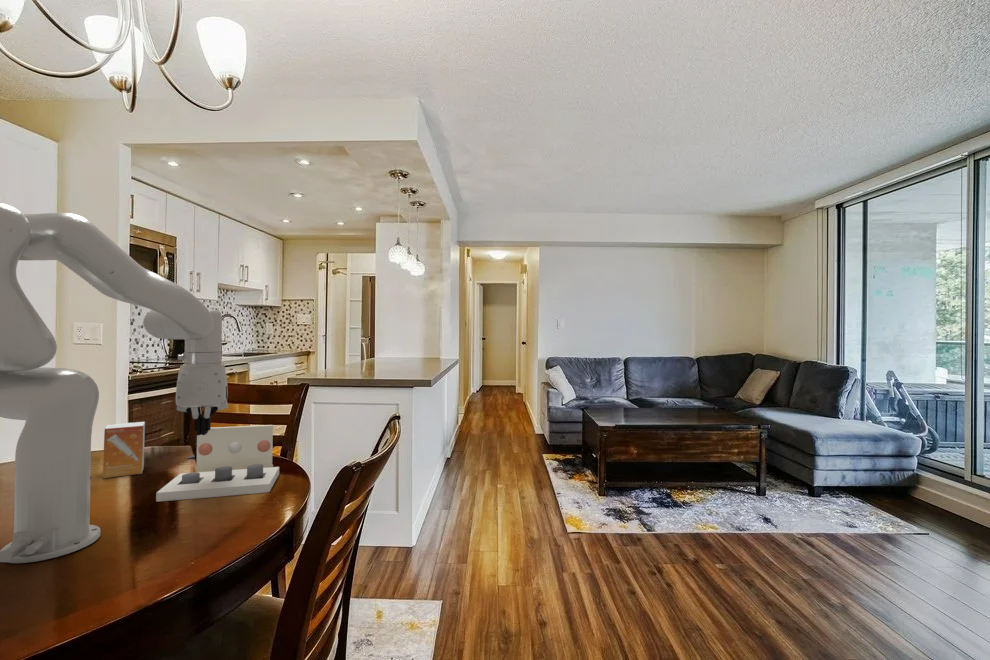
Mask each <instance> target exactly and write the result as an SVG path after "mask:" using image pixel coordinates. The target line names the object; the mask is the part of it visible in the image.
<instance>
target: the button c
mask: <svg viewBox="0 0 990 660" xmlns="http://www.w3.org/2000/svg"><path fill="white" fill-rule="evenodd" d="M261 478H263V465H262V464H255V465H250V466H248V467H247V479H261Z"/></svg>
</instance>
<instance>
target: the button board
mask: <svg viewBox="0 0 990 660" xmlns="http://www.w3.org/2000/svg"><path fill="white" fill-rule="evenodd" d="M188 473H189V472H184V473H179V474H178V475H177V476H175V477H174V478H173V479H171V480H169V482H168V483H166V484H165V485H164V486H162V488H160V489H159V490H158V491H156V494H155V495H156V496H155V501H156V502H168V501H170V502H171V501H181V500H182V501H183V500H193V499H194V500H195V499H205V498H217V497H228V496H240V495H242V496H243V495H252V494H253V495H256V494H264V493H265V494H266V493H270V492H271V490H272V488H273V486H274V484H275V482H276V481H277V479H278V477H279V475H280V466H273V467H268V468H263V478H261V479H247V469H239V470H232V480H231V481H221V482H215V471H210V472H194V473H200V482H199V483H194V484H182V475H184V474H188Z"/></svg>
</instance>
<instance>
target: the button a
mask: <svg viewBox="0 0 990 660" xmlns="http://www.w3.org/2000/svg"><path fill="white" fill-rule="evenodd" d="M187 473H188V474H184V475H182V484H194V483H199V482H200V473H195V472H187Z"/></svg>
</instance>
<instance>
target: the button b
mask: <svg viewBox="0 0 990 660" xmlns="http://www.w3.org/2000/svg"><path fill="white" fill-rule="evenodd" d="M231 480H232V467H231V466H224V467H219V468H216V469H215V482H221V481H231Z"/></svg>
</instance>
